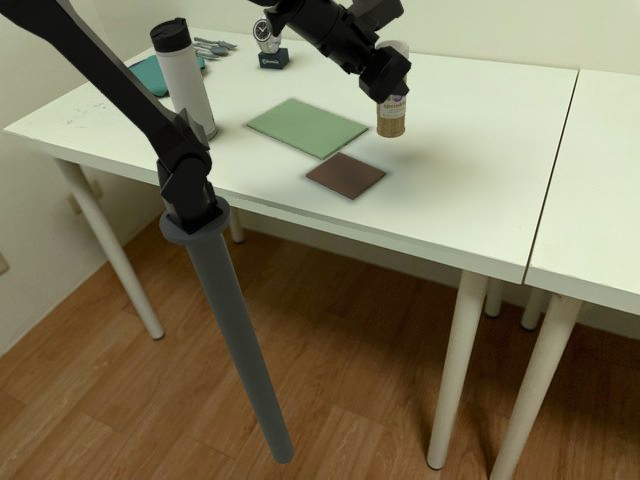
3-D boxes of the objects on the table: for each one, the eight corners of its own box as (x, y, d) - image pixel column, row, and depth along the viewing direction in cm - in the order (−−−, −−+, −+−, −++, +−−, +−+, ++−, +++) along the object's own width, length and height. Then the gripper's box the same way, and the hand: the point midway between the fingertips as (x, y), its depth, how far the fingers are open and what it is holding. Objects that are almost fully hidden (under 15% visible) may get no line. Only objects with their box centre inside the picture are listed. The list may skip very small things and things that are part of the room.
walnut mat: (353, 199, 70) (352, 197, 69) (305, 176, 75) (305, 174, 75) (386, 174, 73) (386, 172, 73) (338, 153, 79) (338, 151, 79)
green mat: (322, 160, 78) (322, 158, 78) (246, 125, 89) (246, 123, 89) (368, 128, 84) (368, 126, 84) (291, 100, 95) (291, 98, 95)
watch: (256, 71, 107) (246, 21, 99) (271, 57, 112) (263, 8, 104) (278, 73, 105) (270, 22, 97) (292, 58, 110) (285, 8, 103)
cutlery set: (102, 89, 108) (98, 79, 106) (193, 41, 125) (190, 32, 123) (160, 105, 99) (156, 95, 97) (250, 51, 116) (248, 41, 114)
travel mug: (225, 128, 89) (195, 18, 75) (201, 146, 85) (166, 33, 71) (201, 122, 92) (168, 15, 78) (177, 139, 88) (139, 29, 74)
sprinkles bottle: (389, 142, 71) (391, 54, 62) (370, 131, 74) (368, 45, 64) (411, 131, 72) (416, 44, 63) (391, 121, 75) (393, 35, 66)
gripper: (398, -18, 49) (475, 62, 59) (336, -51, 63) (407, 19, 72) (334, 71, 53) (416, 133, 63) (288, 23, 67) (361, 79, 76)
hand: (400, 86), depth 68 cm, fingers closed on sprinkles bottle, 4 cm apart
